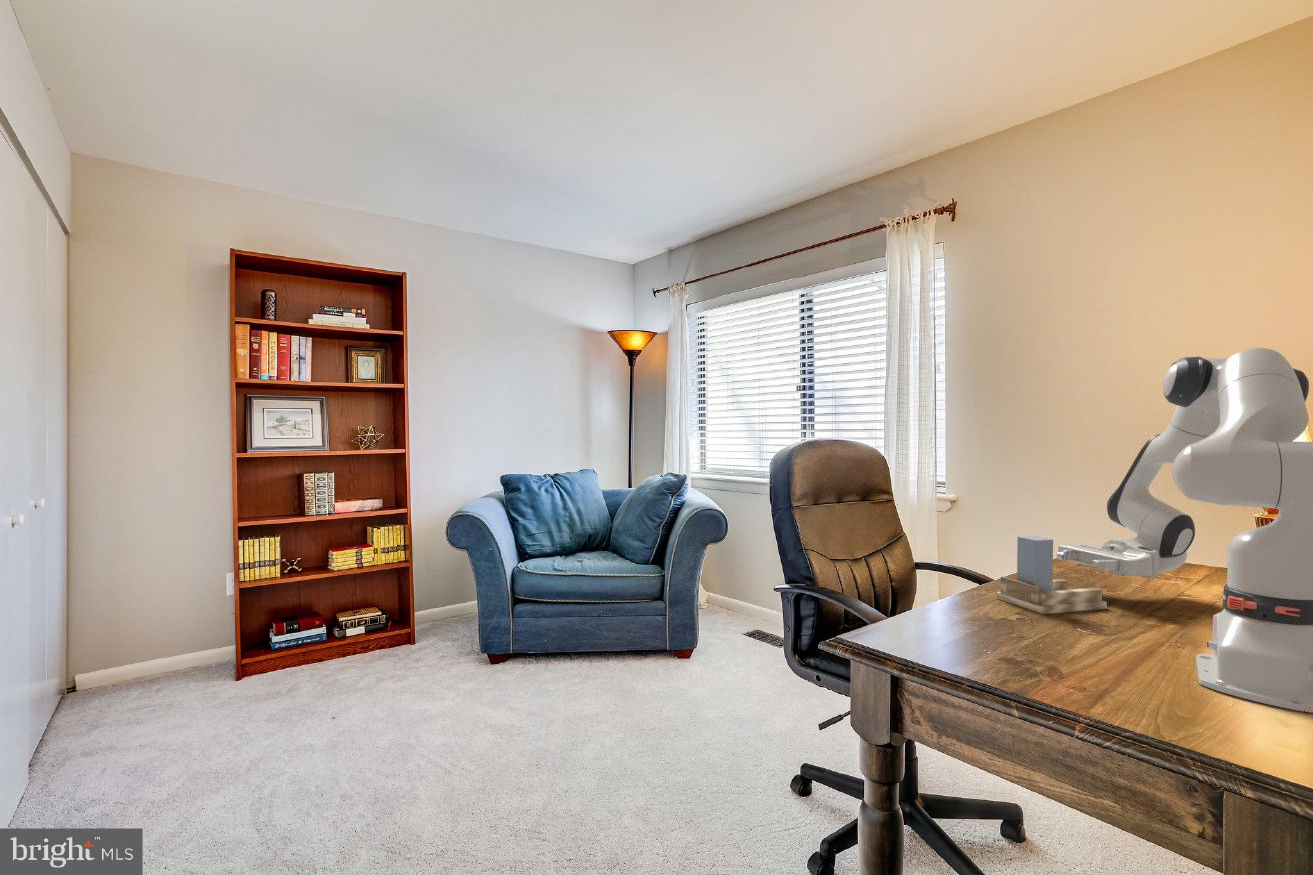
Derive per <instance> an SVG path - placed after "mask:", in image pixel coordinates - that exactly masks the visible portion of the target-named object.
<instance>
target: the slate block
mask: <svg viewBox="0 0 1313 875" xmlns="http://www.w3.org/2000/svg"><path fill="white" fill-rule="evenodd" d="M1016 546H1017V553H1016V554H1017V557H1016V558H1017V560H1016V563H1017V564H1016V580H1017V581H1021V582H1024V583H1028V584H1031V585H1035V586H1038V587H1041V588H1042V592H1045V591H1053V580H1054V579H1053V578H1054V577H1053V576H1054V539H1052V538H1048V537H1047V538H1046V537H1041V536H1037V535H1030V536H1017V545H1016Z"/></svg>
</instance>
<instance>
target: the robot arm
mask: <svg viewBox="0 0 1313 875" xmlns="http://www.w3.org/2000/svg"><path fill="white" fill-rule="evenodd" d="M1309 382H1310V381H1309V379H1308V377H1307V375H1306V374H1305V373H1304V371H1302V370H1299V369H1297V368H1294V367H1293V366H1292V365H1291V363H1289V361H1288V360H1287V358H1286V357H1285V356H1284V355H1282V353H1280V352H1279V351H1277V350H1275V349H1270V348H1265V347H1250V348H1246V349H1242V350H1240V351H1237V352H1235V353H1234V354H1232V355H1230V356H1228V358H1216V357H1214V358H1213V357H1212V358H1210V357H1209V358H1207V357H1206V358H1203V357H1202V356H1189V357H1188V356H1187V357H1181V358H1179V359H1177V360H1176V361H1174V362H1173V363H1172V364H1171V365H1170V367H1169V368H1168V370H1167V371H1166V373H1165V375H1164V377H1163V381H1162V389H1163V396H1164V398H1165V399H1166V401H1167V402H1168V403H1170V404H1173V405H1176V408H1175V411H1174V412H1173V415H1172V417H1171V419H1170V422H1169V424H1168V426H1167V427H1166V429H1165V430H1164V431H1163V432H1162V433H1158V434H1155V435H1153V436H1151V437H1150V438H1149V439H1148V440H1147V441H1146V442H1145V443H1144V445H1143V446H1142V448H1141V450H1139V453H1138V454H1137V455H1136V457H1135V458H1134V460H1133V463H1132V464H1131V465H1130V468H1129V469H1128V471H1127V472H1126V474H1125V476H1124V477H1123V480H1121V481H1122V482H1120V484H1119V486H1118V487H1117V488H1116V490H1115V491H1114V492H1113V493H1112V494H1111V495H1110V497H1109V498H1108V500H1107V502H1106V510H1107V515H1108V517H1109V519H1110V520H1111V521H1112V522H1114V523H1116V524H1118V525H1120V526H1122V527H1123V528H1125V529H1128V530H1130V531H1132V532H1133V533H1135V534H1136V535H1137V536H1136V537H1134V538H1115V539H1110V540H1107V541H1105V542H1104V544H1102V546H1101V547H1100V546H1099V547H1098V546H1093V545H1089V544H1082V543H1081V544H1080V543H1062V544H1061V543H1060V544H1059V545H1058V546H1057V553H1056V559H1057V560H1060V561H1067V562H1072V563H1076V564H1081V565H1085V566H1090V567H1092V568H1094V569H1098V570H1106V571H1108V573H1109V574H1112V575H1114V576H1117V577H1138V578H1144V579H1151V580H1153V579H1158V578H1159V574H1164V573H1168V572H1172V571H1174V570H1176V569H1179V568H1180V567H1182V566H1183V565H1184V564H1185V562H1186V561H1187V556H1188V552H1187V551H1188V549H1189V548H1190V547H1191V545H1192V543H1193V541H1194V538H1195V535H1196V527H1195V523H1194V520H1193V518H1192V517H1191V516H1190V515H1188V514H1186V513H1185V512H1183V511H1181V510H1180V509H1177V508H1176V507H1174V506H1172V505H1169V504H1168V503H1165V501H1162V500H1160V499H1158V498H1157V497H1154V496H1153V495H1152V494H1151V492H1150V491H1149V488H1150V486H1151V484H1152V483H1153V481H1154V479H1155V477H1156V476H1157V474H1158V473H1159V471H1160V470H1161V468H1162V466H1163V465H1164V464H1168V463H1169V464H1172V469H1171V471H1172V472H1171V475H1172V479H1173V483H1175V484H1174V485H1175V486H1176V487H1177V489H1178V490H1179V491H1180V492H1181V494H1183V495H1184V496H1185V497H1186V498H1187V499H1190V500H1196V501H1200V502H1204V503H1209V504H1215V505H1220V506H1232V507H1233V506H1237V507H1253V508H1273V509H1275V510H1276V509H1277V510H1278V513H1277V515H1276V517H1275V519H1274V520H1273V521H1272V522H1270V523H1268V524H1265V525H1262V526H1258V527H1255V528H1251V529H1248V530H1246V531H1245V530H1244V531H1243V532H1240V533H1238V534H1237V535H1235V536H1234V537H1232V538H1231V540H1230V541H1229V542H1228V545H1227V560H1226V562H1227V564H1226V565H1227V567H1226V568H1227V570H1226V574H1227V576H1226V584H1225V585H1223V592H1222V595H1221V596H1222V597H1221V598H1222V608H1223V610H1221V611H1219V612H1217V613H1216V614H1213V618H1212V619H1213V620H1212V623H1213V624H1212V641H1211V640H1208V642H1206V644H1207V645H1206V647H1207V648H1208V650H1212V654H1211V653H1197V654H1196V657H1195V663H1196V670H1197V671H1196V672H1197V678H1198V683H1199V684H1200V685H1202V686H1204V687H1206V688H1209V689H1211V690H1214V691H1217V692H1220V693H1224V694H1227V695H1230V696H1233V697H1236V698H1237V697H1238V698H1242V699H1245V700H1250V701H1252V702H1257V703H1261V704H1265V705H1270V706H1275V707H1279V708H1283V709H1288V710H1293V711H1298V712H1304V711H1305V713H1312V714H1313V441H1295V440H1296V439H1297V438H1299V437H1300V436H1302V434H1303V433H1304V432H1305V431H1306V429H1307V427H1308V425H1309V420H1310V418H1309V414H1308V413H1309V412H1308V409H1307V405H1306V401H1307V398H1308V396H1309V391H1310V389H1309V388H1310V383H1309Z"/></svg>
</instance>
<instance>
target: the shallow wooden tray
mask: <svg viewBox="0 0 1313 875" xmlns="http://www.w3.org/2000/svg"><path fill="white" fill-rule="evenodd" d="M1068 585H1069V584H1068V580H1066V579H1062V578H1057V579H1053V591H1045V592H1042V588H1041V587H1038V586H1035V585H1031V584H1028V583H1024V582H1021V581H1017V579H1014V578H1011V577H1007V576H1000V591H998V592H996V598H995V599H997V600H1000V601H1003V602H1005V603H1008V604H1011V605H1014V606H1018V607H1021V608H1023V609H1027V610H1030V611H1032V612H1035V613H1038V614H1041V615H1046V614H1059V613H1070V612H1071V613H1072V612H1082V611H1083V612H1084V611H1094V610H1095V611H1096V610H1105V609H1108V606H1107V603H1108V602H1107V601H1104V600H1102V598H1103V597H1102V596H1103V589H1100V588H1098V587H1090V588H1089V587H1088V588H1075V589H1072V588H1071V589H1068V587H1069V586H1068Z"/></svg>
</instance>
